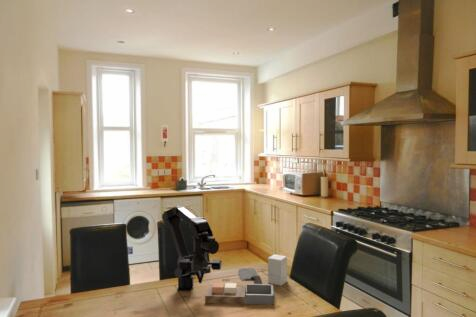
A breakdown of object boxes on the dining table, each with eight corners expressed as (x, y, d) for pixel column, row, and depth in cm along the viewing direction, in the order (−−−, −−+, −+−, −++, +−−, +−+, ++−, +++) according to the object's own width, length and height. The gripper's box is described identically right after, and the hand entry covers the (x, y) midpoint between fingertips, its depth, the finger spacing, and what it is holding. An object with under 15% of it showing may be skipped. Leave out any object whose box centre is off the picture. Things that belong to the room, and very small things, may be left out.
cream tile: (224, 293, 158) (224, 287, 158) (225, 288, 163) (225, 283, 163) (235, 293, 158) (235, 287, 158) (236, 288, 163) (236, 283, 163)
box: (245, 303, 154) (245, 294, 154) (247, 292, 166) (246, 283, 166) (273, 304, 153) (273, 295, 153) (273, 292, 165) (273, 284, 165)
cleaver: (266, 290, 169) (266, 286, 169) (246, 292, 167) (246, 287, 167) (253, 269, 198) (253, 265, 198) (236, 270, 196) (236, 266, 196)
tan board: (205, 302, 156) (205, 295, 156) (209, 291, 168) (209, 284, 167) (244, 303, 154) (244, 297, 154) (245, 292, 166) (245, 285, 166)
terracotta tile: (212, 292, 159) (211, 287, 159) (213, 288, 164) (213, 282, 164) (223, 293, 158) (223, 287, 158) (224, 288, 163) (224, 283, 163)
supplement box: (287, 281, 179) (287, 256, 179) (281, 286, 173) (281, 260, 172) (274, 278, 183) (274, 253, 183) (267, 283, 177) (267, 257, 176)
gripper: (175, 253, 154) (175, 289, 154) (218, 254, 152) (218, 291, 153) (181, 246, 165) (181, 279, 165) (221, 247, 163) (221, 280, 164)
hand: (200, 282), depth 162 cm, fingers closed
